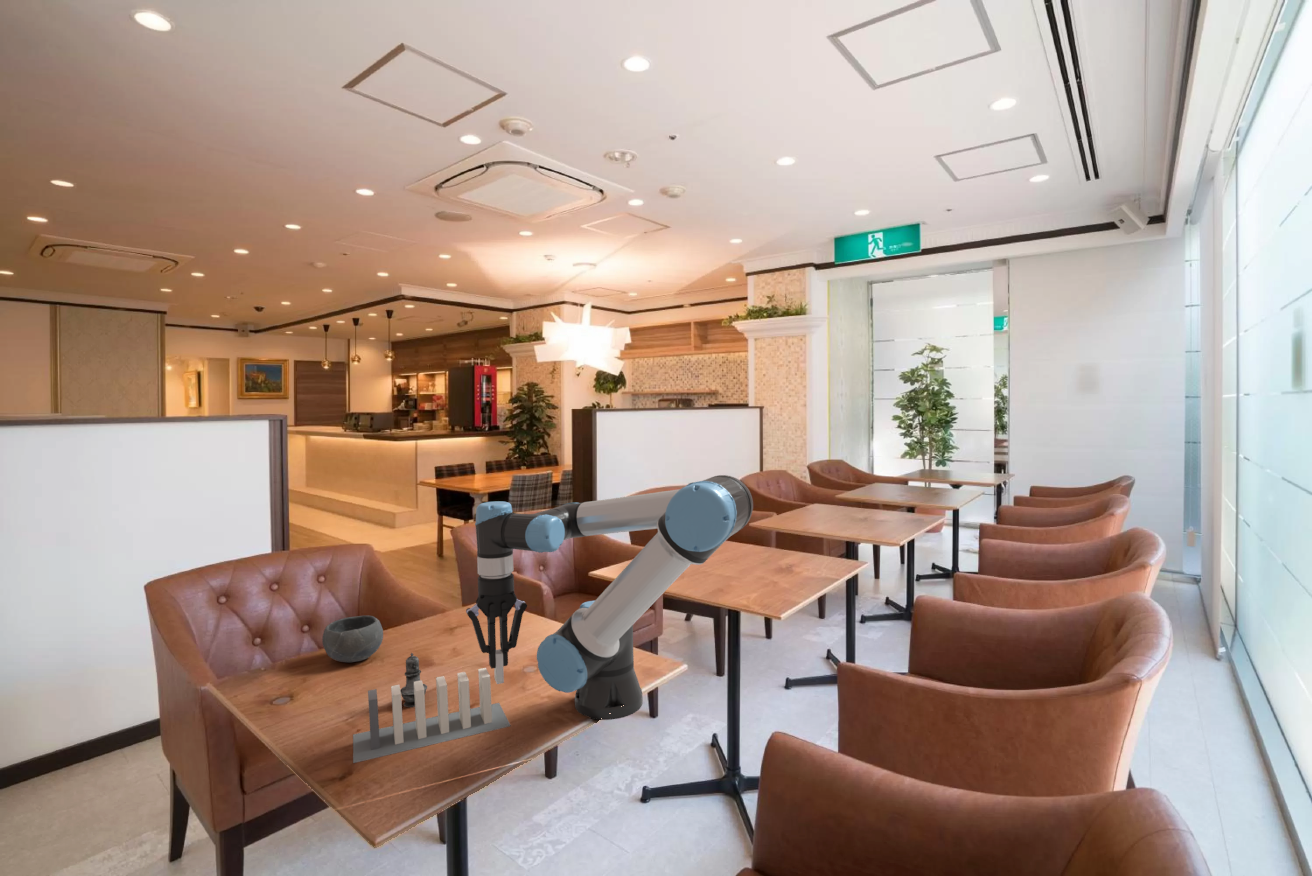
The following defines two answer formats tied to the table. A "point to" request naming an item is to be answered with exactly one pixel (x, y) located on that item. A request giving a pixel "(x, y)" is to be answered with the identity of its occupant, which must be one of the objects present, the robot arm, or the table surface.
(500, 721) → the mat
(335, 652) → the bowl
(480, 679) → the tile
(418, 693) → the tile
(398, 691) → the tile
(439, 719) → the tile
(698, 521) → the robot arm
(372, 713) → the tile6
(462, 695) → the tile
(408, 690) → the grey chess piece
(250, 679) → the table surface
